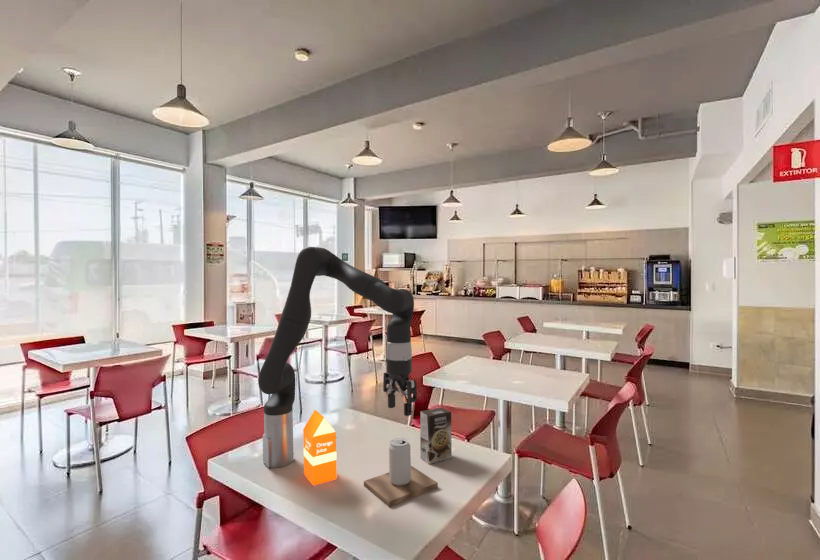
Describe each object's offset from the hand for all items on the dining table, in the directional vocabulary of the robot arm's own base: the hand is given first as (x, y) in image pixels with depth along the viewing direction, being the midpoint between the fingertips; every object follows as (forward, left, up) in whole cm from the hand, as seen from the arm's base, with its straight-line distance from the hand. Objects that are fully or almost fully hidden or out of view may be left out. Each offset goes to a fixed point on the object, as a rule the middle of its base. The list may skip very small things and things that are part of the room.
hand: (399, 411), depth 123 cm
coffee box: (+21, +8, -23) cm, 32 cm away
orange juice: (-16, +20, -23) cm, 35 cm away
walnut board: (0, 0, -22) cm, 22 cm away
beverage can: (0, 0, -21) cm, 21 cm away
